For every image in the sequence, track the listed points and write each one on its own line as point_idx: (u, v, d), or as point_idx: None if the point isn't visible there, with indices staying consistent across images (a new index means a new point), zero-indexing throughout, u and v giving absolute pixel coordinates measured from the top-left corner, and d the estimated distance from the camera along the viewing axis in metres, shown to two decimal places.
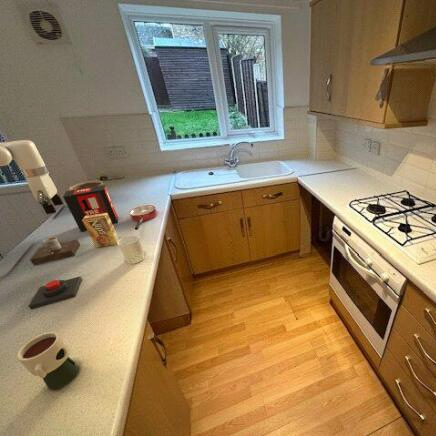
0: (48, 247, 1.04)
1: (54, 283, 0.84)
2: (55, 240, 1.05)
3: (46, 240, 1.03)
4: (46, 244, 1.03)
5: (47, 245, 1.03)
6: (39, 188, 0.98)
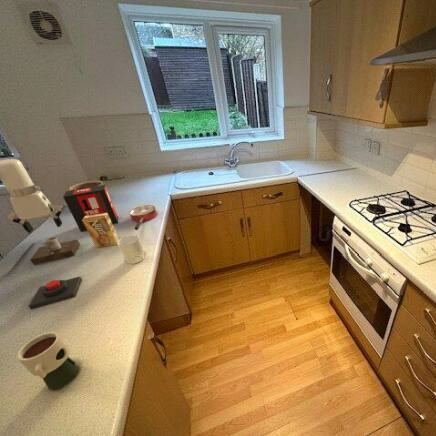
0: (48, 247, 1.04)
1: (54, 283, 0.84)
2: (55, 240, 1.05)
3: (46, 240, 1.03)
4: (46, 244, 1.03)
5: (47, 245, 1.03)
6: None
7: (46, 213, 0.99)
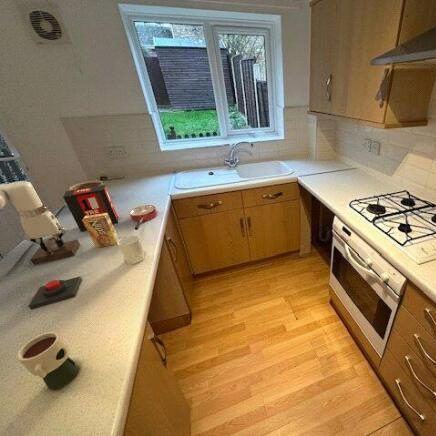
0: (48, 247, 1.04)
1: (54, 283, 0.84)
2: (55, 240, 1.05)
3: (46, 240, 1.03)
4: (46, 244, 1.03)
5: (47, 245, 1.03)
6: None
7: (54, 232, 1.02)
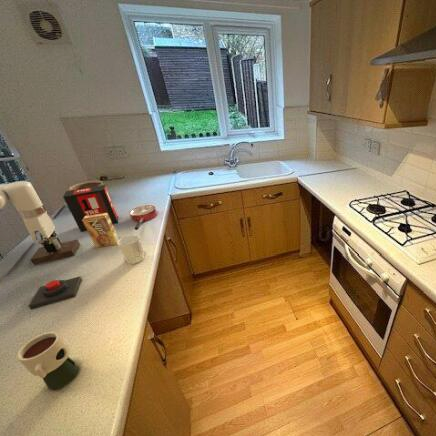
0: (57, 244, 1.06)
1: (54, 283, 0.84)
2: None
3: None
4: (55, 241, 1.05)
5: (56, 242, 1.05)
6: (36, 229, 0.97)
7: (54, 227, 1.06)
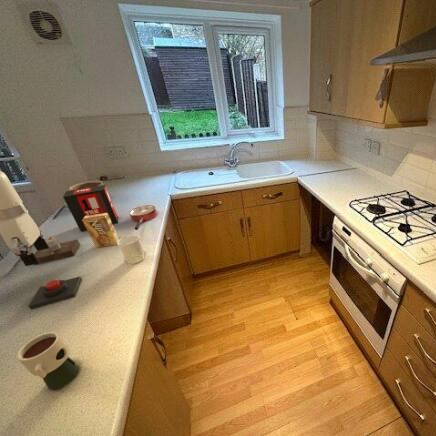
0: (57, 244, 1.06)
1: (54, 283, 0.84)
2: None
3: (50, 240, 1.04)
4: (55, 241, 1.05)
5: (56, 242, 1.05)
6: (14, 234, 0.73)
7: (39, 231, 0.82)
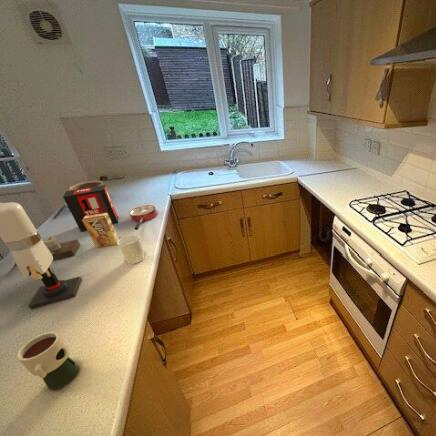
0: (57, 244, 1.06)
1: None
2: None
3: (50, 240, 1.04)
4: (55, 241, 1.05)
5: (56, 242, 1.05)
6: (29, 263, 0.75)
7: (52, 257, 0.84)
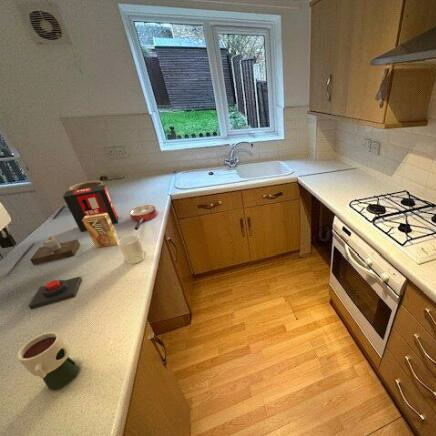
0: (57, 244, 1.06)
1: (54, 283, 0.84)
2: None
3: (50, 240, 1.04)
4: (55, 241, 1.05)
5: (56, 242, 1.05)
6: None
7: (9, 218, 0.82)
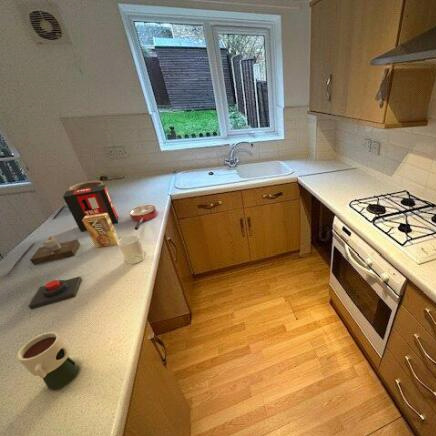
0: (57, 244, 1.06)
1: (54, 283, 0.84)
2: None
3: (50, 240, 1.04)
4: (55, 241, 1.05)
5: (56, 242, 1.05)
6: None
7: None
